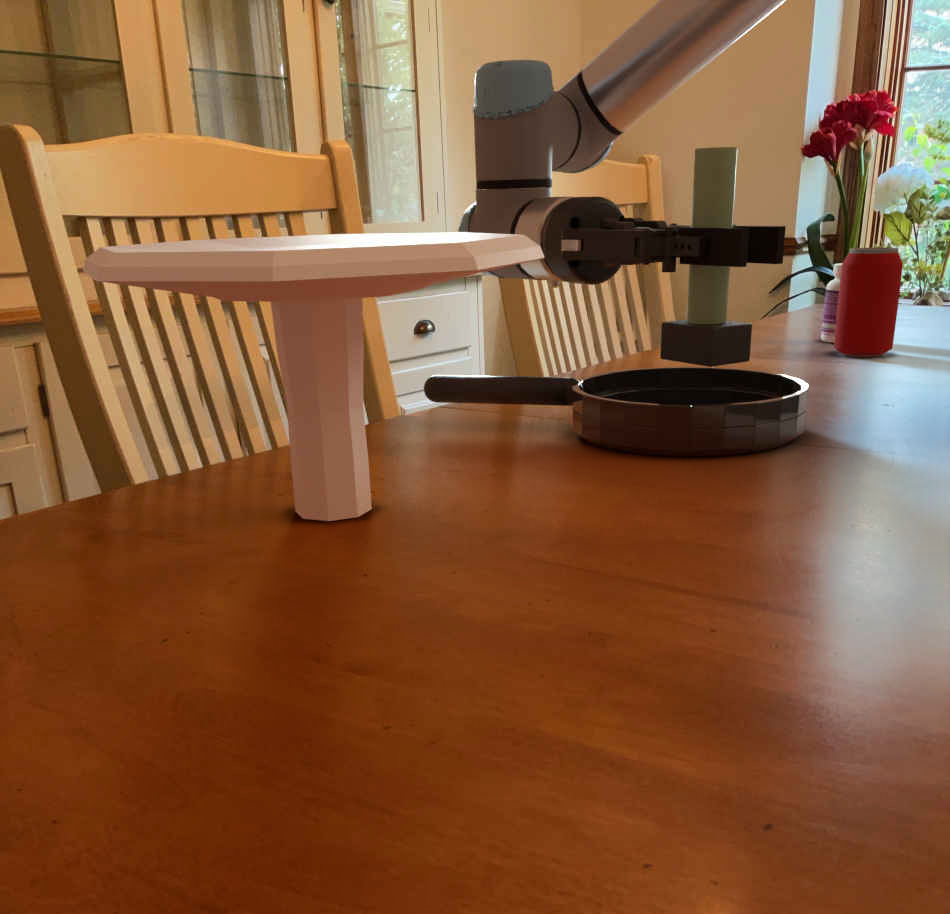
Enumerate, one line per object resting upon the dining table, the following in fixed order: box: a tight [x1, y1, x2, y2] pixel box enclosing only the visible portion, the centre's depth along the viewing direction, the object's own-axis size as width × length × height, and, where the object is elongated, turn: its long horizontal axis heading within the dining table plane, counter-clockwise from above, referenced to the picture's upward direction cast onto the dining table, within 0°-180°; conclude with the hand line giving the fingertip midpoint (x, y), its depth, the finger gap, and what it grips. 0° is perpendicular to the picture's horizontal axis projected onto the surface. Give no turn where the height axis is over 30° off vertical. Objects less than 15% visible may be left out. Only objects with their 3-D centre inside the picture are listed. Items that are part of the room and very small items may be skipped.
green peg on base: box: [659, 146, 753, 367], centre depth 83 cm, size 6×4×16 cm
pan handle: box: [423, 374, 583, 407], centre depth 91 cm, size 14×2×2 cm, turn 73°
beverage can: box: [833, 246, 904, 358], centre depth 124 cm, size 7×7×12 cm
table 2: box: [82, 231, 545, 522], centre depth 66 cm, size 28×28×17 cm
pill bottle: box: [820, 262, 843, 344], centre depth 135 cm, size 5×5×10 cm
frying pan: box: [570, 366, 809, 457], centre depth 87 cm, size 19×19×4 cm
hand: (762, 246), depth 79 cm, fingers closed on green peg on base, 3 cm apart
